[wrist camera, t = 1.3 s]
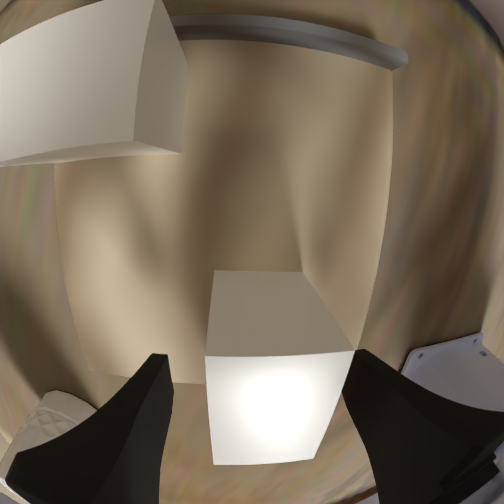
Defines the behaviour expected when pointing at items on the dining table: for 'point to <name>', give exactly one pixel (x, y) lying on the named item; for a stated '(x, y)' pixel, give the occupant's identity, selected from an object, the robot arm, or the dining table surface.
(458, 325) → the dining table surface
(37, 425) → the white cup
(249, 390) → the carton
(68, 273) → the shelf board
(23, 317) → the dining table surface
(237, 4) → the dining table surface
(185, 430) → the dining table surface
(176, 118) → the faced carton
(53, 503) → the robot arm
